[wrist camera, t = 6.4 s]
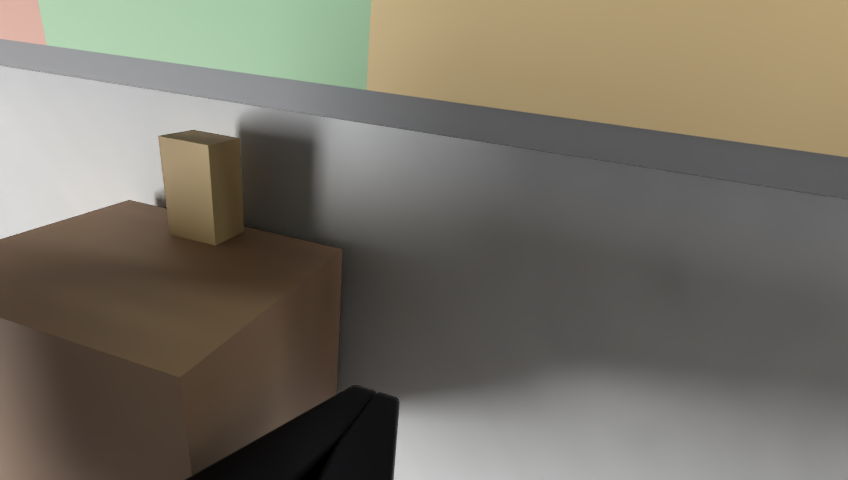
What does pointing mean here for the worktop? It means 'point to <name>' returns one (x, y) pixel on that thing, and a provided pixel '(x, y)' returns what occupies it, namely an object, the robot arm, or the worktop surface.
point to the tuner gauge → (495, 71)
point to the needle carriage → (161, 329)
